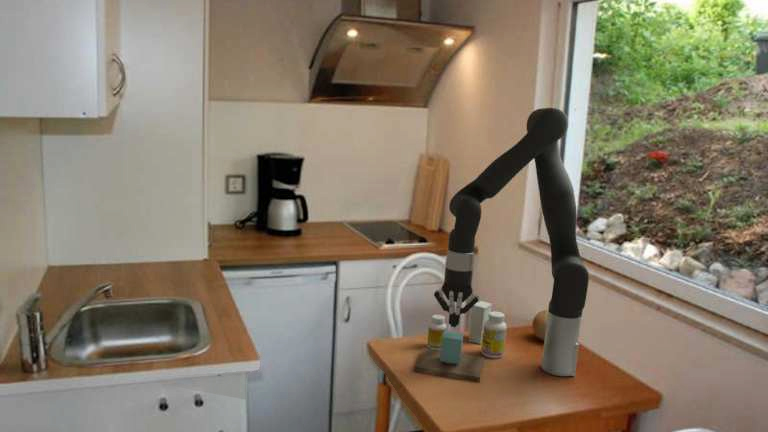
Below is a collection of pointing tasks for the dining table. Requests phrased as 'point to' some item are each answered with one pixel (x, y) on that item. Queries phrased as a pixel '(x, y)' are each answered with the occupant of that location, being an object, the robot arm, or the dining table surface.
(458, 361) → the aqua rectangular box
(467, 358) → the post board
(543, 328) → the onion
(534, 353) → the dining table surface
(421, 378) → the dining table surface
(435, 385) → the dining table surface
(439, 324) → the supplement bottle
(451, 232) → the robot arm
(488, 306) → the skincare box
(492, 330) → the supplement bottle
